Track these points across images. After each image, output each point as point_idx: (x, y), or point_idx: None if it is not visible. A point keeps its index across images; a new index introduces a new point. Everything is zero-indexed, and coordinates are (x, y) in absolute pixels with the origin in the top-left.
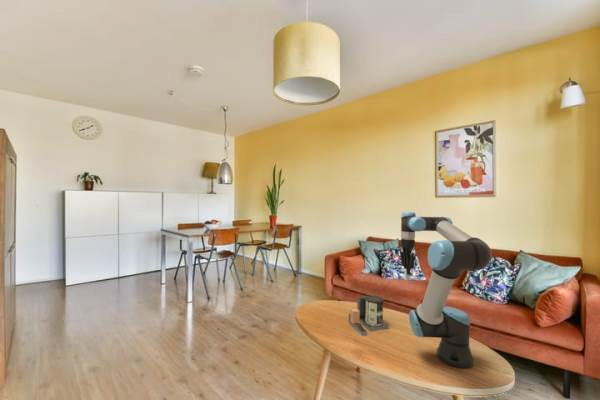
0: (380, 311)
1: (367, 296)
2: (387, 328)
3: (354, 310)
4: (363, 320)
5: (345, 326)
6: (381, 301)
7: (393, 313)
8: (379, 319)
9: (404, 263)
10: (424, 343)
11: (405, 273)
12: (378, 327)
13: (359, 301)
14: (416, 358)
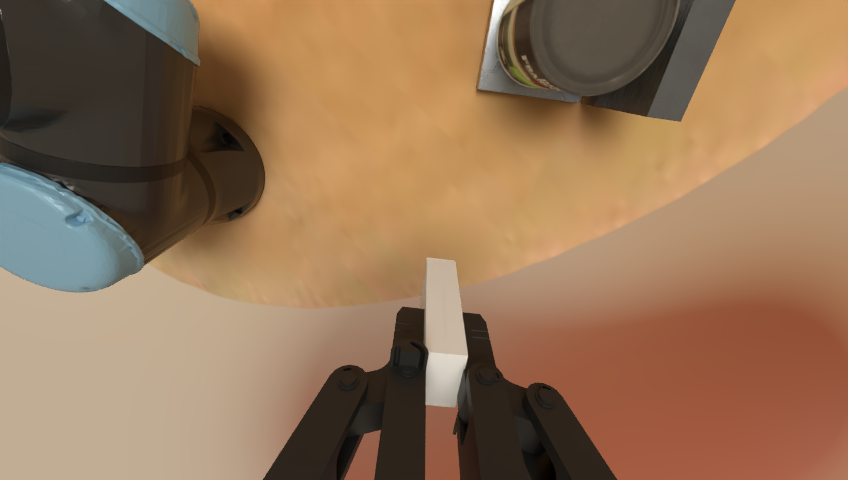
0: (513, 36)
1: None
2: (477, 83)
3: None
4: None
5: None
6: (530, 37)
7: (581, 223)
8: (503, 32)
9: (485, 435)
10: (321, 147)
11: (436, 303)
12: (489, 23)
13: None
14: (223, 15)
